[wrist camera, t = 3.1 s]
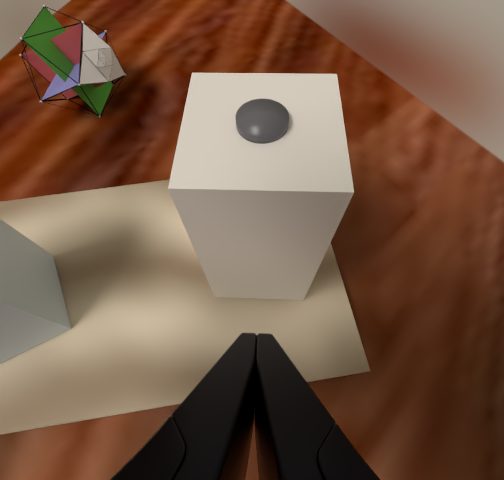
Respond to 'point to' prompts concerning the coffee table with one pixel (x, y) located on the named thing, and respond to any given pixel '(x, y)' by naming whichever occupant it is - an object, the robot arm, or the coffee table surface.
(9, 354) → the tile two
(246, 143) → the white button box
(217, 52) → the coffee table surface
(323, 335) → the beige mat
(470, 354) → the coffee table surface
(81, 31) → the geometric puzzle
